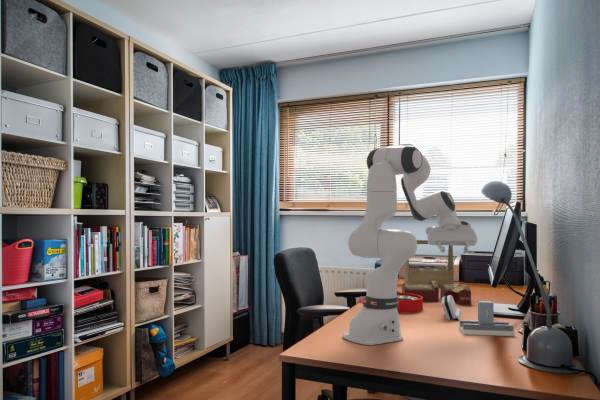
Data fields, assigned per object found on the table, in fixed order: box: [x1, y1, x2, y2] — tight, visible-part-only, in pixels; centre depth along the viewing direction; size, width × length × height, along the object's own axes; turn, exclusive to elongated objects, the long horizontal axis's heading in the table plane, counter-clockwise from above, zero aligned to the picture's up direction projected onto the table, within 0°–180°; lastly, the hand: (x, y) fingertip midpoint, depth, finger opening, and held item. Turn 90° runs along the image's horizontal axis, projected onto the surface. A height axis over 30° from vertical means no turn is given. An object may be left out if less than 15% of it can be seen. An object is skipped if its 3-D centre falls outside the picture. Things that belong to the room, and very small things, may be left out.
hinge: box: [441, 295, 462, 322], centre depth 194 cm, size 17×5×10 cm, turn 157°
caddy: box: [403, 239, 455, 287], centre depth 281 cm, size 29×11×30 cm, turn 87°
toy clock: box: [397, 292, 424, 314], centre depth 209 cm, size 20×6×20 cm
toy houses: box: [397, 281, 473, 306], centre depth 228 cm, size 45×20×10 cm, turn 88°
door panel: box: [477, 300, 495, 324], centre depth 167 cm, size 5×3×10 cm, turn 84°
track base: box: [458, 319, 516, 337], centre depth 167 cm, size 18×8×4 cm, turn 84°
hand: (454, 251), depth 183 cm, fingers open, 8 cm apart
